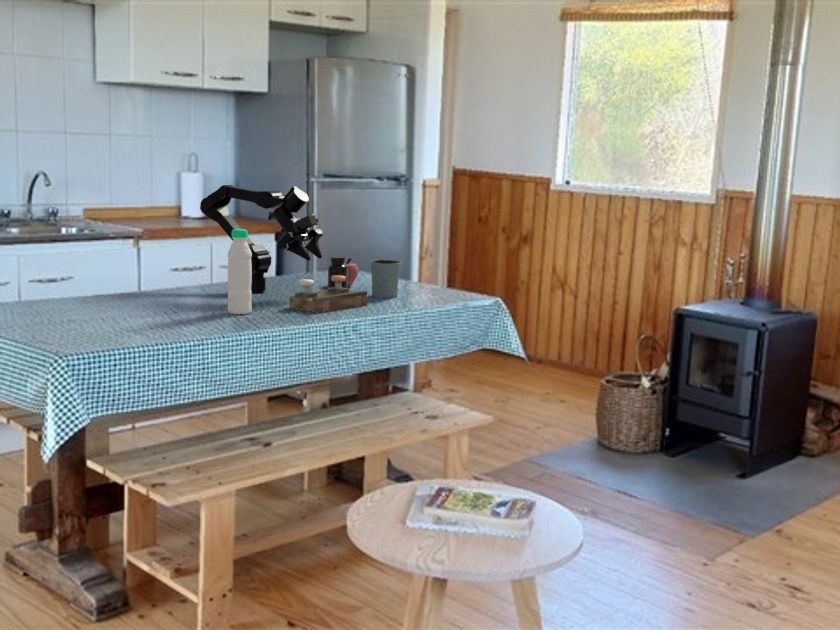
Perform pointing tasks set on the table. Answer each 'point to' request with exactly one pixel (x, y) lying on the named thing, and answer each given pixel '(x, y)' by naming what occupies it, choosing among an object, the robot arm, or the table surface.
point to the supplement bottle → (337, 271)
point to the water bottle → (239, 274)
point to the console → (328, 300)
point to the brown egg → (338, 280)
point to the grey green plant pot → (385, 278)
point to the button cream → (306, 285)
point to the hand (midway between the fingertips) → (315, 258)
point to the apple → (351, 272)
